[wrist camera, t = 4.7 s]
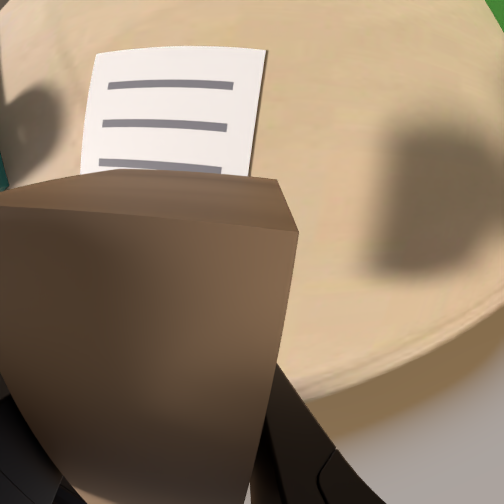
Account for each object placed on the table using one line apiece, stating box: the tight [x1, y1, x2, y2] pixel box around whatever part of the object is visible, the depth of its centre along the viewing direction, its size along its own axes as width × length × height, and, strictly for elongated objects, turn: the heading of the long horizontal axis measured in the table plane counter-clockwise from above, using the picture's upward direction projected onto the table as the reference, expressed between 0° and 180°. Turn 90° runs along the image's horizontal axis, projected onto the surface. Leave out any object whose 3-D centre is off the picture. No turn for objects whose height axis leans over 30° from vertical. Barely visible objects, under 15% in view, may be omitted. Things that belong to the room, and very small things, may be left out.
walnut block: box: [0, 169, 299, 504], centre depth 6 cm, size 9×4×5 cm, turn 174°
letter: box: [80, 46, 266, 176], centre depth 16 cm, size 14×11×1 cm
